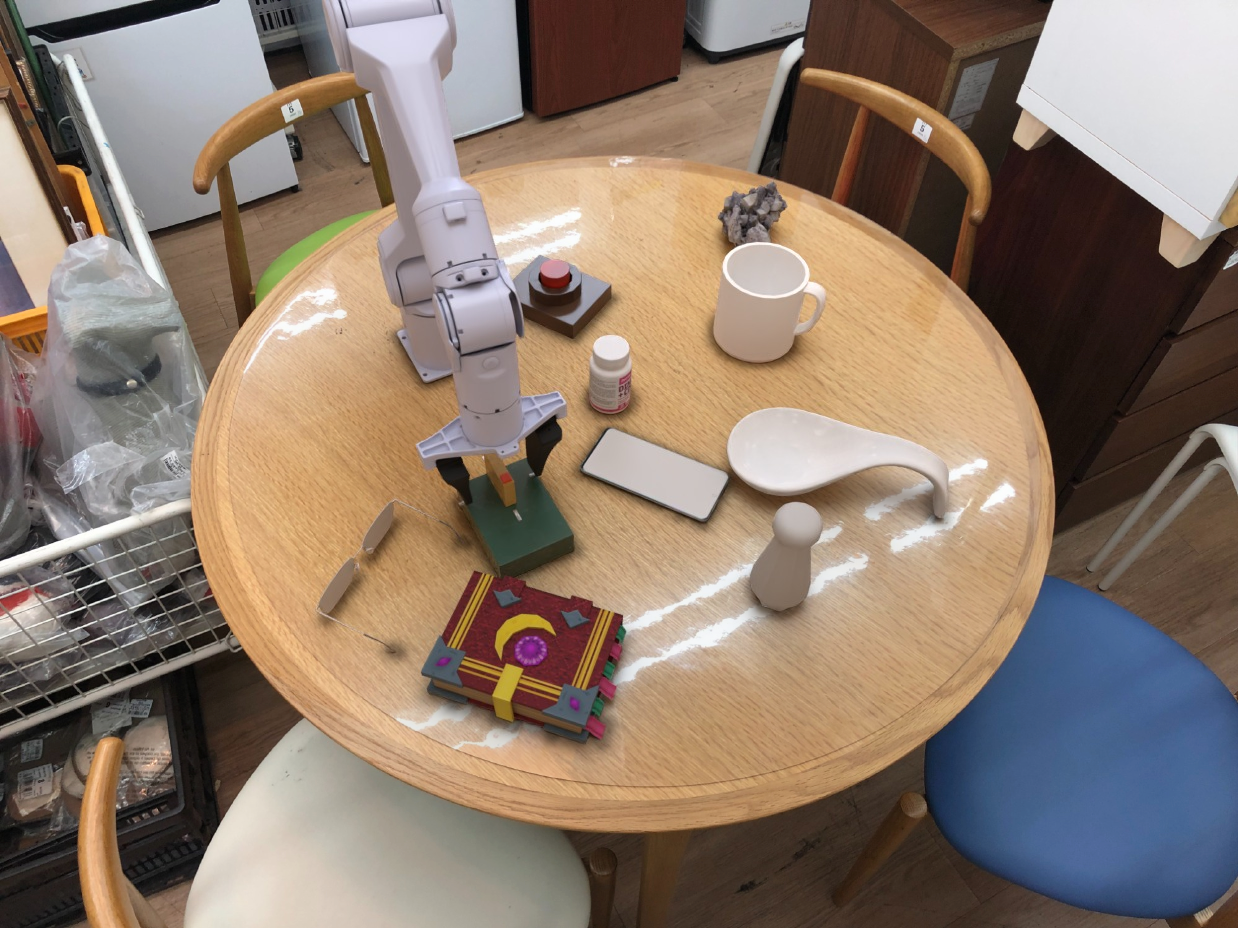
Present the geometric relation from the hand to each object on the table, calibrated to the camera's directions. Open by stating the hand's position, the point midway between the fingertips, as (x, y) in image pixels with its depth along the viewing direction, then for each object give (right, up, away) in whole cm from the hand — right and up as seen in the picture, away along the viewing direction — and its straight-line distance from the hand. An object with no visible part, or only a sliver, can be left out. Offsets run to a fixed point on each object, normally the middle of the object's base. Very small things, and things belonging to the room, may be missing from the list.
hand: (500, 482), depth 90 cm
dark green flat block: (+1, -4, +2) cm, 4 cm away
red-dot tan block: (0, -1, +1) cm, 1 cm away
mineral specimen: (+30, +32, +32) cm, 54 cm away
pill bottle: (+11, +9, +13) cm, 19 cm away
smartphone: (+16, +1, +6) cm, 17 cm away
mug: (+30, +17, +20) cm, 40 cm away
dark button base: (+4, +22, +23) cm, 32 cm away
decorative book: (+4, -17, -8) cm, 19 cm away
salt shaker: (+27, -11, -3) cm, 30 cm away
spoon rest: (+35, 0, +6) cm, 36 cm away
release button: (+4, +25, +20) cm, 32 cm away
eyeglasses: (-10, -10, -3) cm, 14 cm away
